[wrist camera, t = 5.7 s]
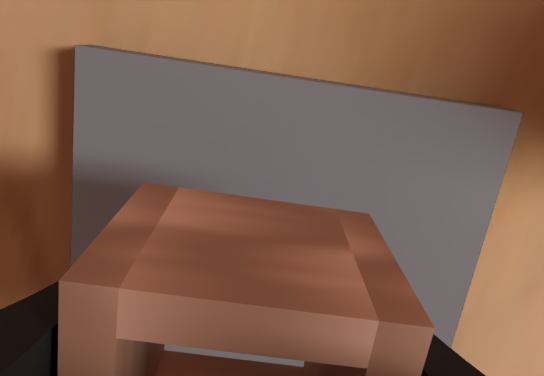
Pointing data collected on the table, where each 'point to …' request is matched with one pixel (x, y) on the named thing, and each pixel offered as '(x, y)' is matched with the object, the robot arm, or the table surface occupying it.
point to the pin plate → (294, 158)
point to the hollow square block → (238, 292)
